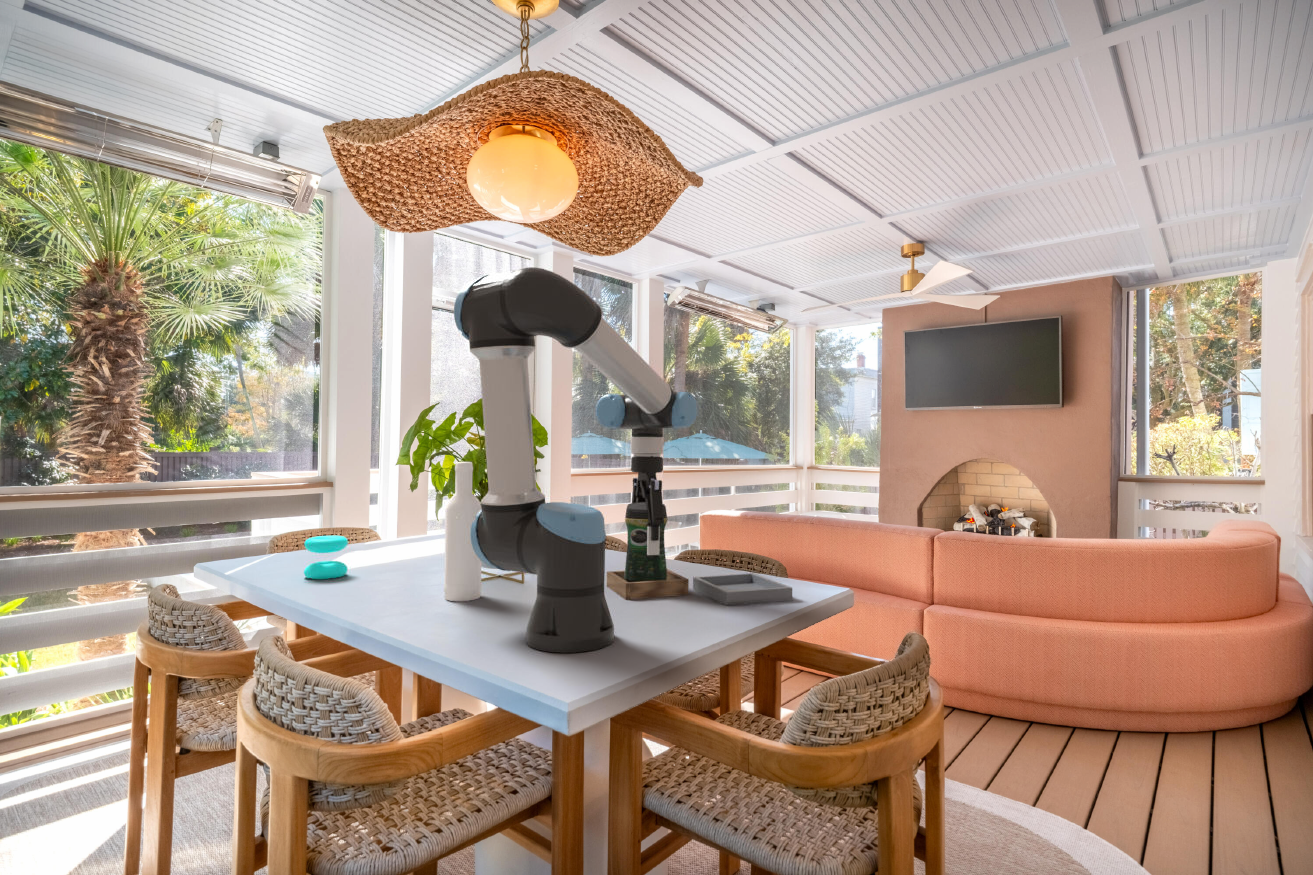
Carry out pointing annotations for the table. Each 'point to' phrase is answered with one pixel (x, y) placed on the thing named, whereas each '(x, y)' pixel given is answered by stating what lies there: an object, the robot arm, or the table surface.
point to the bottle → (461, 540)
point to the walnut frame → (647, 586)
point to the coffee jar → (643, 547)
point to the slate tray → (742, 589)
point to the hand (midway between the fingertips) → (646, 551)
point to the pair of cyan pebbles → (325, 567)
